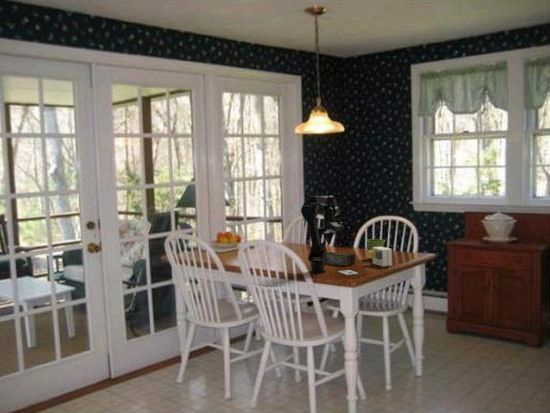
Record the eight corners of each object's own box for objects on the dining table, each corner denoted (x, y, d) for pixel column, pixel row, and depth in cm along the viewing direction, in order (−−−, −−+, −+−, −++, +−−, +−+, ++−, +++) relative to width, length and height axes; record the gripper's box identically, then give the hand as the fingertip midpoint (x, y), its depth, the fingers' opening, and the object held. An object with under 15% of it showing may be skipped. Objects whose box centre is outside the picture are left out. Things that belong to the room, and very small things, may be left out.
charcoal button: (379, 259, 323) (379, 252, 323) (376, 258, 326) (376, 251, 326) (386, 258, 325) (386, 251, 325) (382, 257, 328) (382, 251, 328)
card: (346, 275, 303) (346, 273, 303) (338, 271, 312) (337, 270, 312) (358, 273, 306) (358, 272, 306) (349, 270, 315) (349, 269, 315)
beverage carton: (329, 261, 347) (329, 250, 346) (356, 264, 334) (356, 253, 334) (321, 263, 341) (321, 252, 340) (348, 266, 328) (348, 255, 328)
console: (383, 266, 323) (382, 250, 322) (372, 263, 333) (372, 247, 333) (392, 265, 325) (391, 249, 325) (381, 262, 336) (381, 246, 335)
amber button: (370, 258, 327) (370, 251, 327) (367, 257, 331) (367, 250, 330) (377, 257, 329) (377, 250, 329) (374, 256, 332) (373, 250, 332)
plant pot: (385, 260, 343) (385, 241, 342) (365, 260, 345) (365, 241, 344) (385, 256, 354) (385, 238, 353) (366, 256, 357) (366, 238, 356)
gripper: (324, 219, 315) (325, 247, 316) (350, 216, 325) (350, 244, 326) (312, 218, 324) (313, 245, 325) (337, 215, 334) (338, 241, 335)
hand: (329, 244), depth 328 cm, fingers closed
